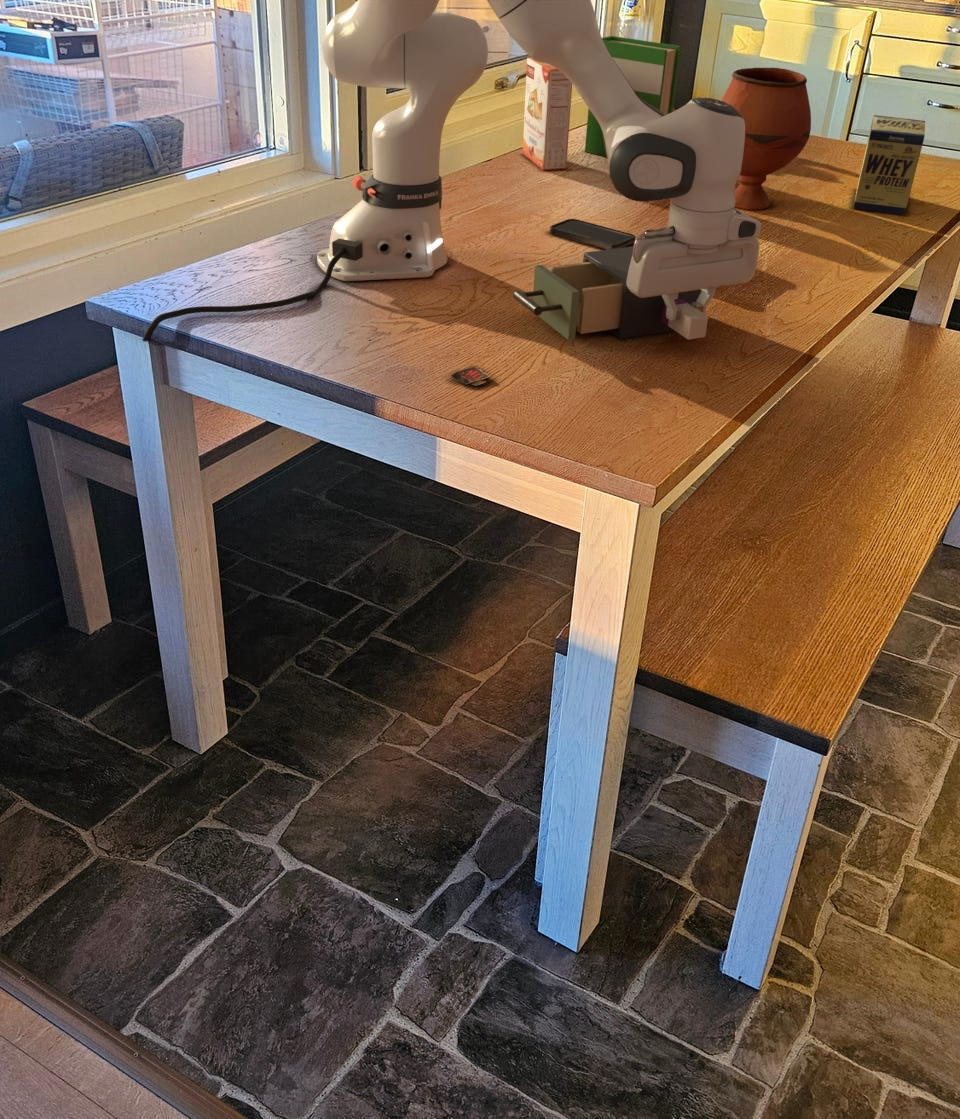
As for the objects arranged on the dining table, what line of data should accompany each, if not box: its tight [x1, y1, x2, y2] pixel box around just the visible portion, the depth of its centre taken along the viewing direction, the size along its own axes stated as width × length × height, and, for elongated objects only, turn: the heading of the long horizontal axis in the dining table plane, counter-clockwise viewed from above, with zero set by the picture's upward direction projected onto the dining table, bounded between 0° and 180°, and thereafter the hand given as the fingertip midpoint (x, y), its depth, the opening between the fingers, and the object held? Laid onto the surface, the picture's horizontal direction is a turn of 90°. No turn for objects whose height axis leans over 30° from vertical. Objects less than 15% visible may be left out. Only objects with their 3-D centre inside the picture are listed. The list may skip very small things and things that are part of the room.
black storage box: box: [582, 245, 702, 340], centre depth 168 cm, size 15×13×9 cm
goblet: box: [720, 67, 812, 211], centre depth 217 cm, size 19×19×25 cm
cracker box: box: [522, 56, 573, 171], centre depth 239 cm, size 14×6×21 cm, turn 17°
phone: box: [549, 218, 636, 250], centre depth 202 cm, size 8×1×15 cm
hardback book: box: [584, 35, 682, 157], centre depth 246 cm, size 18×7×24 cm, turn 54°
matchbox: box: [450, 366, 491, 387], centre depth 150 cm, size 5×5×1 cm
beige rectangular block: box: [662, 299, 709, 341], centre depth 160 cm, size 7×3×3 cm, turn 25°
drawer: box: [512, 262, 624, 341], centre depth 164 cm, size 18×12×7 cm, turn 114°
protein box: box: [852, 114, 926, 216], centre depth 224 cm, size 10×16×16 cm
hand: (685, 317), depth 160 cm, fingers closed on beige rectangular block, 3 cm apart
